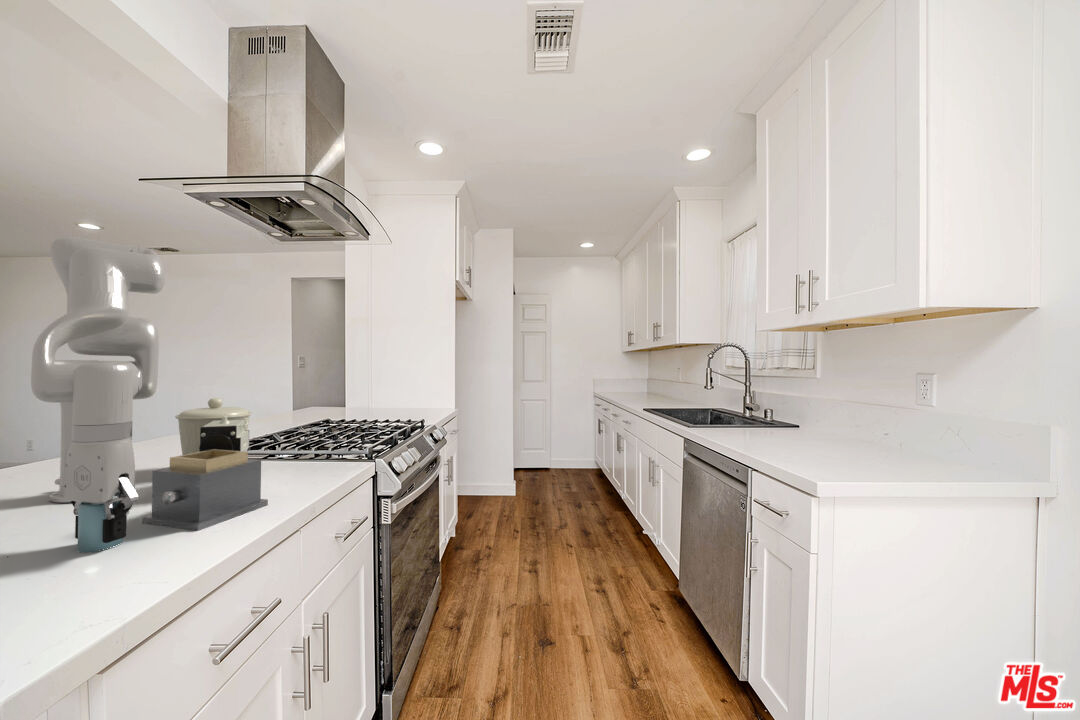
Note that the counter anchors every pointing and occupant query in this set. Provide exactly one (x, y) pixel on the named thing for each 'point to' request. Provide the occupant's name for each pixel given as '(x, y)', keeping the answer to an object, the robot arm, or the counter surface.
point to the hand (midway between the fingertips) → (100, 536)
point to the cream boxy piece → (224, 435)
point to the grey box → (205, 489)
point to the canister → (205, 422)
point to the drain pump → (93, 527)
